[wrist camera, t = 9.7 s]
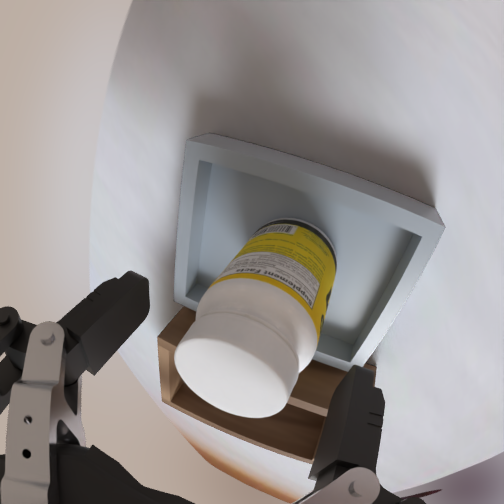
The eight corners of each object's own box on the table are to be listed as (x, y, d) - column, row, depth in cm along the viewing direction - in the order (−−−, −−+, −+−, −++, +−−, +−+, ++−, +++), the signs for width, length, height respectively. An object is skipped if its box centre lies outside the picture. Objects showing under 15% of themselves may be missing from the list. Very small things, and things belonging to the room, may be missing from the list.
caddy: (192, 295, 21) (157, 336, 17) (376, 367, 18) (369, 422, 15) (187, 365, 26) (162, 401, 22) (329, 422, 23) (317, 465, 19)
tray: (209, 133, 15) (186, 139, 13) (435, 208, 13) (445, 227, 11) (191, 281, 21) (173, 300, 19) (360, 348, 18) (356, 374, 16)
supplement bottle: (305, 309, 17) (254, 436, 10) (236, 263, 17) (150, 371, 11) (357, 251, 14) (331, 392, 8) (277, 196, 15) (184, 298, 8)
